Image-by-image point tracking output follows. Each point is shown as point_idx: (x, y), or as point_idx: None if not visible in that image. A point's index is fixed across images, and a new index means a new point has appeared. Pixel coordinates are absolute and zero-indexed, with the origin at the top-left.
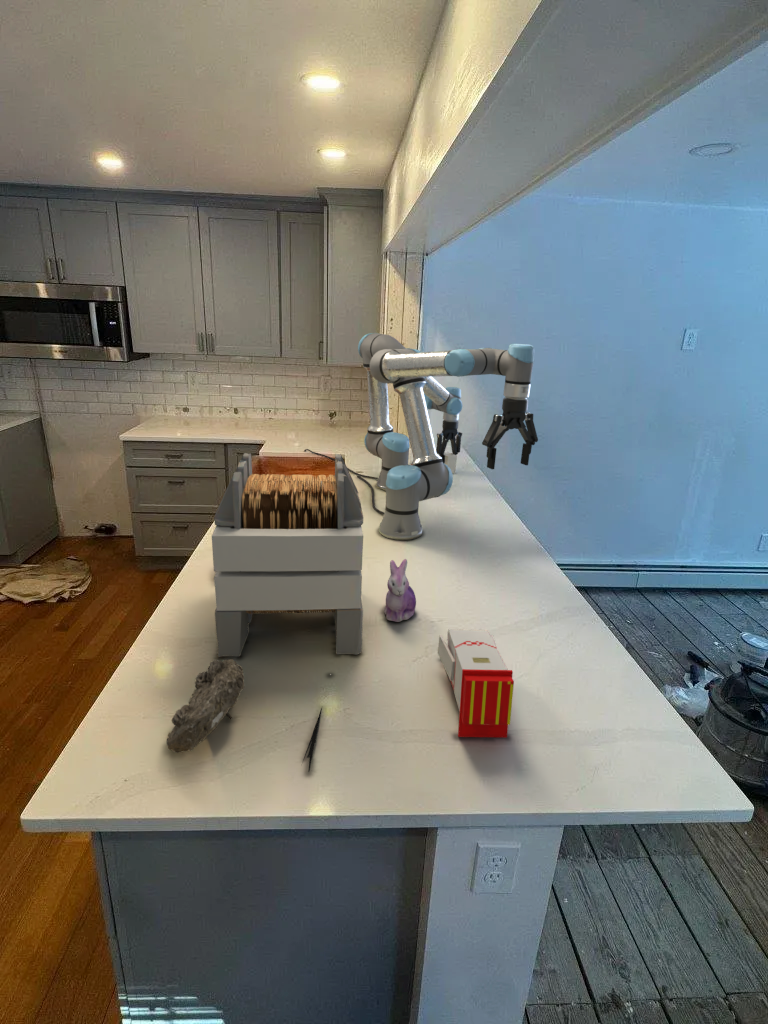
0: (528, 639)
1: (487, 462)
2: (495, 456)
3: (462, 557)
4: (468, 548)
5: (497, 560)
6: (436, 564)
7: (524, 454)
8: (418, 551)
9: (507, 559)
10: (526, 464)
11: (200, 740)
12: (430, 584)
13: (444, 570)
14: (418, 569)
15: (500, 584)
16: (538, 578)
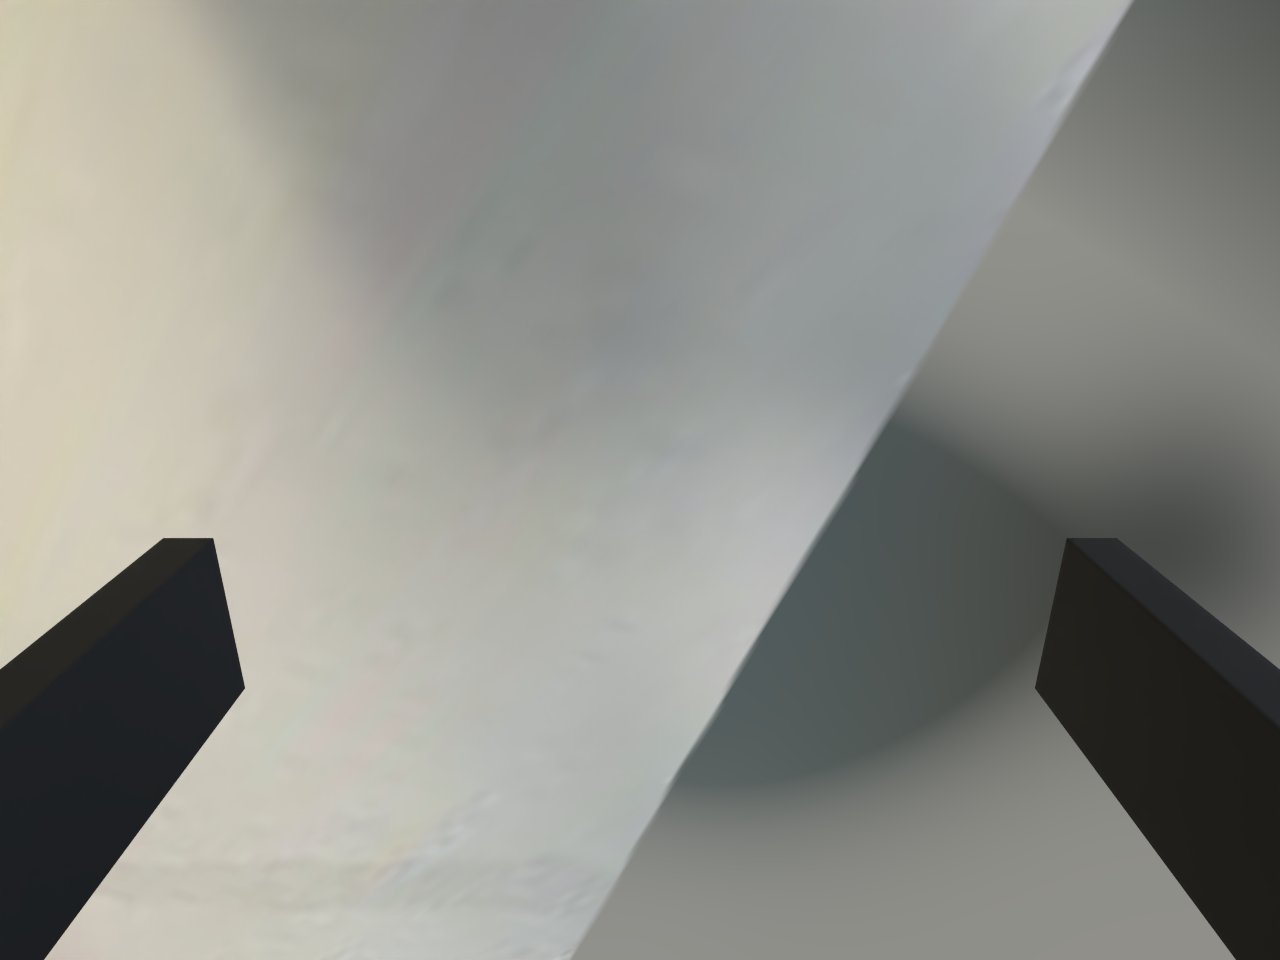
0: (258, 946)
1: (104, 592)
2: (85, 894)
3: (380, 257)
4: (503, 142)
5: (573, 386)
6: (163, 280)
7: (1175, 753)
8: (113, 31)
9: (642, 399)
10: (1048, 698)
11: None
12: (34, 483)
13: (180, 372)
14: (22, 297)
15: (403, 619)
16: (635, 642)
